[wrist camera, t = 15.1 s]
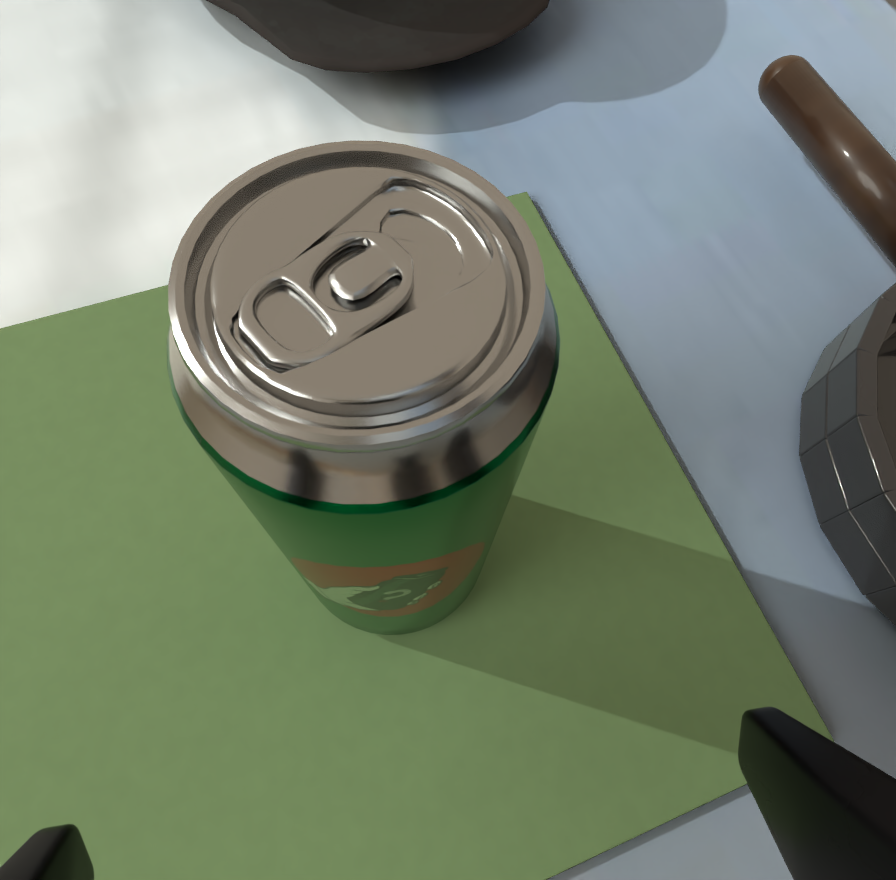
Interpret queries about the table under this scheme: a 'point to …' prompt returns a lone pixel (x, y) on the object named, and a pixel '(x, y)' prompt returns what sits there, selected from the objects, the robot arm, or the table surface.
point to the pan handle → (835, 145)
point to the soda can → (366, 367)
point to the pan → (857, 449)
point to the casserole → (383, 29)
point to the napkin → (353, 640)
